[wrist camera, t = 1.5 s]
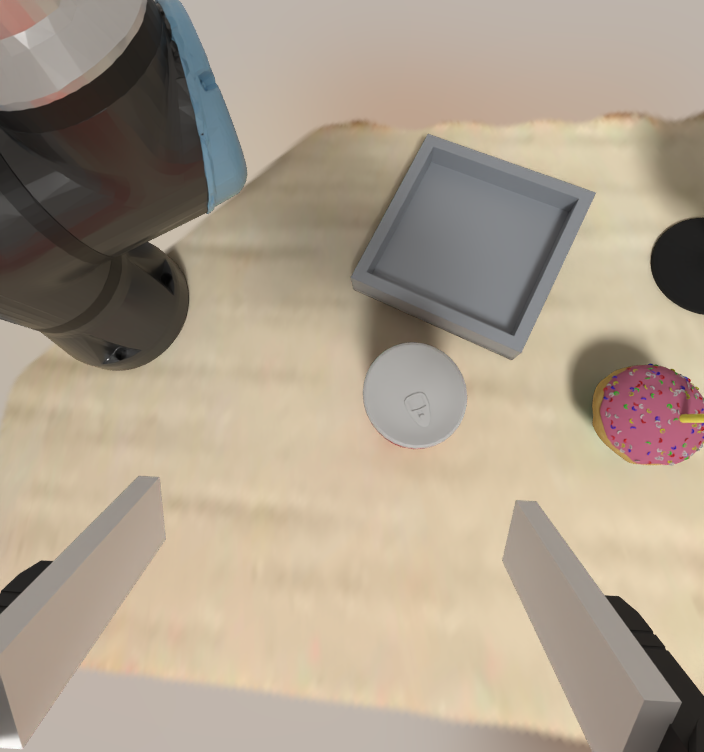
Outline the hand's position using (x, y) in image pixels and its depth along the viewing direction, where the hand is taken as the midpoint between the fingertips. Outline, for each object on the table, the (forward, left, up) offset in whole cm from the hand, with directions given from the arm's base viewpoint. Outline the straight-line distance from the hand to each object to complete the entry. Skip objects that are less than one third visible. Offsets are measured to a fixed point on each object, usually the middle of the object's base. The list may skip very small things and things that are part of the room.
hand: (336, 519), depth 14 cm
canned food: (0, +7, -24) cm, 26 cm away
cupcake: (+18, +15, -24) cm, 34 cm away
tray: (-2, +25, -24) cm, 35 cm away
